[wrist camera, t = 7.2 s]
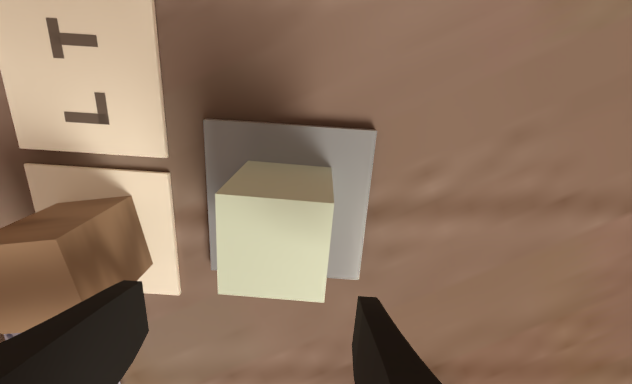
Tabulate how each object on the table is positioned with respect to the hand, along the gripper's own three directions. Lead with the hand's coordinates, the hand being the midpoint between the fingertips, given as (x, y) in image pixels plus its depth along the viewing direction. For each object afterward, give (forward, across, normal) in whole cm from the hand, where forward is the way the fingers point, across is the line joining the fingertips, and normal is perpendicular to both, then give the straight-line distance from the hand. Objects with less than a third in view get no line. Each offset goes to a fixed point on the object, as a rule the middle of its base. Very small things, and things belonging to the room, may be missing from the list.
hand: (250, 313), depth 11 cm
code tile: (+10, +12, -7) cm, 17 cm away
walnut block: (+10, +12, +3) cm, 16 cm away
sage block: (+10, 0, 0) cm, 10 cm away
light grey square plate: (+10, 0, 0) cm, 10 cm away
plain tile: (+10, +12, +3) cm, 16 cm away
